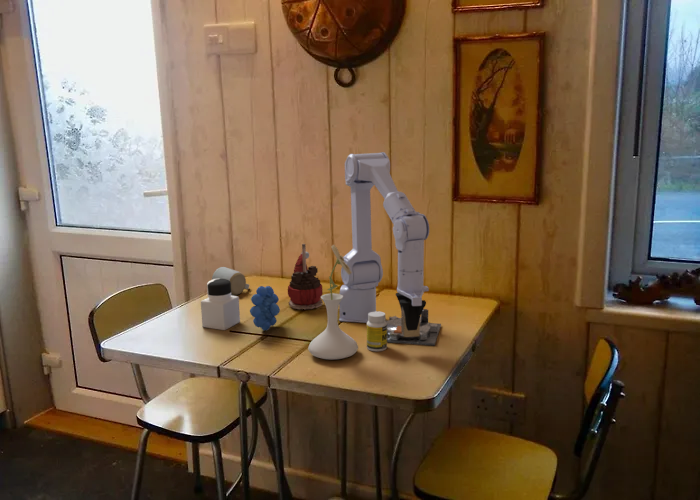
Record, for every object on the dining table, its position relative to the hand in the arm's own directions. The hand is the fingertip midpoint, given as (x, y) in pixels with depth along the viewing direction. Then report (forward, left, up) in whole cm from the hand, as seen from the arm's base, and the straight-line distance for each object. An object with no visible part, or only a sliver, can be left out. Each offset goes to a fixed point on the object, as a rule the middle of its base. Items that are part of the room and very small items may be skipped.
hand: (410, 326), depth 148 cm
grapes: (-37, +7, -6) cm, 38 cm away
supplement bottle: (-8, +1, -6) cm, 10 cm away
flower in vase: (-17, -4, -6) cm, 19 cm away
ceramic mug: (-60, +37, -7) cm, 71 cm away
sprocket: (-2, +12, -6) cm, 14 cm away
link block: (0, 0, -2) cm, 2 cm away
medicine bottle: (-51, +9, -6) cm, 52 cm away
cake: (-34, +28, -6) cm, 44 cm away
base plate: (-2, +12, -6) cm, 14 cm away
